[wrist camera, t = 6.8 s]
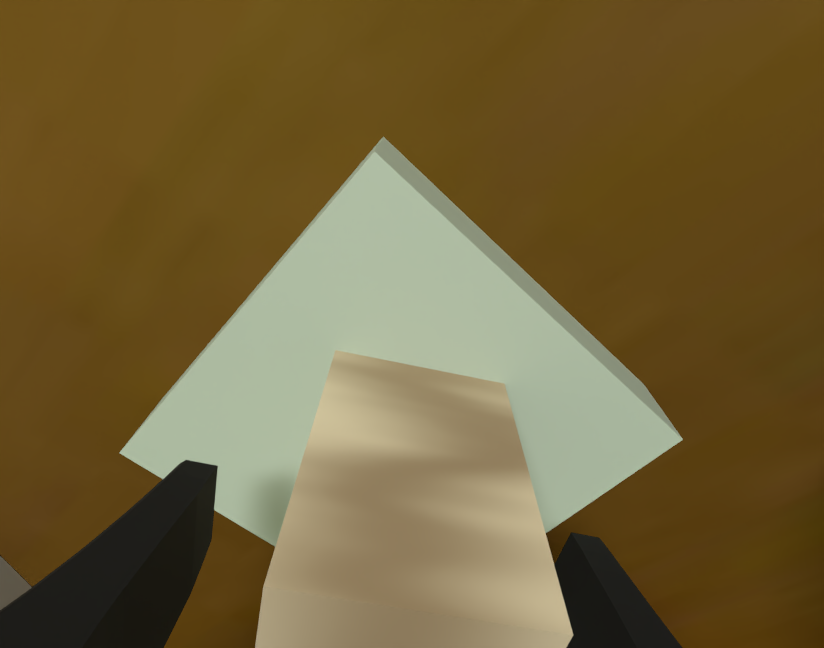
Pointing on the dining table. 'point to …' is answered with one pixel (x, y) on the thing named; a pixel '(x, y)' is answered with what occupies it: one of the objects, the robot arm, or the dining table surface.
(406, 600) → the beech block
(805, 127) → the dining table surface
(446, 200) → the stacking block
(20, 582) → the lighter
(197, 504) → the robot arm
